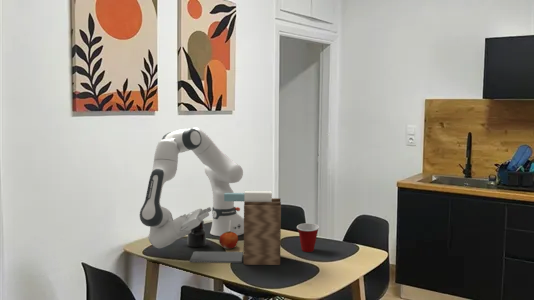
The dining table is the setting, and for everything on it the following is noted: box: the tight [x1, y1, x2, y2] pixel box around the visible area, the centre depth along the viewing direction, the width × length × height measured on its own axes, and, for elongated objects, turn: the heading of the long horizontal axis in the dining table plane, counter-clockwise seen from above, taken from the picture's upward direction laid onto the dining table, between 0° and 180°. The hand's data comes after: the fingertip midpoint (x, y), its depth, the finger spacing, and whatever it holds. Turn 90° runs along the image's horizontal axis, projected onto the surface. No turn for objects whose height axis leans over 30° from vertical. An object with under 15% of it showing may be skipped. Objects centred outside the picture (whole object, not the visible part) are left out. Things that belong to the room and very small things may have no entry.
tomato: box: [219, 231, 239, 250], centre depth 246 cm, size 9×9×8 cm
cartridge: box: [224, 190, 273, 202], centre depth 226 cm, size 21×6×5 cm, turn 90°
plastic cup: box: [296, 222, 320, 253], centre depth 243 cm, size 11×11×12 cm
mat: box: [189, 250, 244, 264], centre depth 231 cm, size 23×13×1 cm, turn 90°
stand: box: [243, 197, 282, 266], centre depth 227 cm, size 16×14×27 cm
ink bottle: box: [187, 219, 207, 248], centre depth 249 cm, size 10×9×12 cm
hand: (209, 211), depth 227 cm, fingers open, 8 cm apart
